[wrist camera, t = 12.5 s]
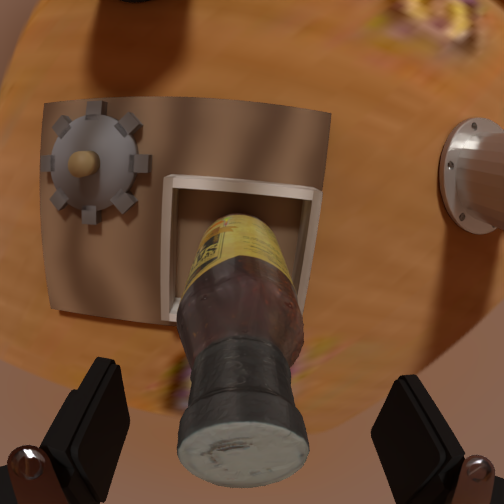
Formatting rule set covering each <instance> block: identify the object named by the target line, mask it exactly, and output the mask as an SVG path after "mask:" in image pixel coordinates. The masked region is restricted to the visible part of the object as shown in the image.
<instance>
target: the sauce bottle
mask: <svg viewBox="0 0 504 504" xmlns="http://www.w3.org/2000/svg"><path fill="white" fill-rule="evenodd" d="M176 323H177V329H178V333H179V336H180V339H181V342H182V345H183V348H184V350H185V353H186V356H187V359H188V362H189V364H190V367H191V370H192V371H191V377H190V379H191V382H192V384H191V390H190V395H189V401H188V408H187V409H186V410H185V412H184V414H183V416H182V417H181V420H180V426H179V431H178V444H177V455H178V458H179V460H180V462H181V463H182V465H183V466H184V467H185V468H186V469H187V470H188V471H190V472H191V473H192V474H193V475H195V476H197V477H199V478H201V479H203V480H205V481H208V482H210V483H213V484H215V485H218V486H224V487H230V488H231V487H232V488H252V487H258V486H265V485H268V484H271V483H275V482H279V481H281V480H283V479H286V478H288V477H290V476H291V475H292V474H294V473H295V472H297V471H298V470H299V469H300V468H302V466H303V465H304V463H305V461H306V459H307V456H308V454H309V451H310V450H309V442H308V438H307V432H306V428H305V424H304V421H303V417H302V415H301V413H300V412H299V410H298V409H297V408H296V407H295V403H294V397H293V394H292V389H291V371H290V367H291V366H292V365H293V364H294V362H295V361H296V359H297V358H298V357H299V353H300V351H301V348H302V346H303V343H304V332H303V326H304V324H303V317H302V314H301V311H300V308H299V305H298V298H297V294H296V290H295V288H294V285H293V282H292V279H291V277H290V274H289V271H288V268H287V266H286V263H285V260H284V257H283V255H282V252H281V249H280V247H279V244H278V241H277V239H276V236H275V234H274V233H273V232H272V230H271V229H270V228H269V226H268V225H267V224H266V223H265V222H263V221H262V220H260V219H259V218H257V217H255V216H253V215H251V214H247V213H240V212H238V213H237V212H236V213H231V214H228V215H225V216H223V217H221V218H218V219H217V220H216V221H215V222H214V223H213V224H212V225H211V226H210V227H209V228H208V229H207V230H206V232H205V233H204V235H203V237H202V239H201V242H200V245H199V247H198V250H197V253H196V256H195V258H194V261H193V264H192V267H191V269H190V272H189V276H188V279H187V281H186V285H185V288H184V291H183V294H182V296H181V300H180V303H179V307H178V310H177V317H176Z"/></svg>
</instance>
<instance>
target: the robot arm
mask: <svg viewBox="0 0 504 504" xmlns="http://www.w3.org/2000/svg"><path fill="white" fill-rule="evenodd" d="M439 181H440V190H441V195H442V199H443V202H444V205H445V207H446V210H447V212H448V213H449V215H450V217H451V218H452V220H453V221H454V222H455V223H456V224H457V225H458V226H459V227H461V228H462V229H464V230H466V231H468V232H471V233H473V234H479V235H480V234H487V233H489V232H492V231H494V230H495V229H497V228H499V229H502V230H504V130H503V129H502V128H501V127H500V126H499V125H498V124H496V123H495V122H493V121H492V120H489V119H486V118H470V119H467V120H465V121H462V122H461V123H460V124H458V125H457V126H456V127H455V128H454V129H453V131H452V132H451V133H450V134H449V136H448V138H447V140H446V142H445V145H444V148H443V151H442V154H441V160H440V169H439ZM129 425H130V417H129V412H128V407H127V402H126V397H125V392H124V386H123V381H122V375H121V369H120V366H119V365H116V363H115V361H114V360H112V359H107V358H102V357H97V358H96V359H95V361H94V362H93V364H92V366H91V367H90V369H89V371H88V373H87V374H86V376H85V378H84V379H83V381H82V383H81V384H80V386H79V388H78V390H75V389H74V390H72V391H71V392H70V393H69V395H68V396H67V398H66V400H65V402H64V403H63V405H62V407H61V409H60V410H59V412H58V414H57V416H56V417H55V419H54V421H53V423H52V425H51V427H50V428H49V430H48V432H47V434H46V436H45V437H44V439H43V441H42V443H41V445H40V447H39V448H38V447H36V446H32V445H24V446H20V447H17V448H16V449H14V450H13V451H12V452H11V453H10V455H9V456H8V460H7V465H5V466H1V467H0V504H100V502H103V503H104V502H105V501H106V498H107V495H108V492H109V488H110V484H111V482H112V478H113V475H114V472H115V469H116V466H117V462H118V459H119V456H120V453H121V450H122V447H123V444H124V441H125V438H126V435H127V432H128V429H129ZM371 438H372V440H373V443H374V445H375V448H376V450H377V453H378V456H379V459H380V461H381V464H382V467H383V469H384V472H385V475H386V477H387V480H388V483H389V486H390V488H391V491H392V494H393V497H394V499H395V502H396V504H504V479H503V478H500V477H497V476H495V469H494V466H493V464H492V463H491V461H490V460H489V459H487V458H486V457H484V456H481V455H471V456H469V457H467V458H466V459H465V458H464V454H465V452H464V450H463V449H462V447H461V446H460V444H459V442H458V440H457V438H456V437H455V435H454V433H453V432H452V430H451V428H450V427H449V425H448V424H447V422H446V420H445V419H444V417H443V415H442V414H441V412H440V411H439V409H438V407H437V406H436V404H435V403H434V401H433V400H432V398H431V396H430V395H429V394H428V392H427V390H426V389H425V388H424V386H423V384H422V383H421V381H420V380H419V378H418V377H417V376H416V375H414V374H413V375H402V376H400V377H399V378H398V380H395V381H394V383H393V385H392V388H391V390H390V392H389V394H388V396H387V398H386V401H385V403H384V405H383V407H382V409H381V411H380V413H379V415H378V417H377V419H376V421H375V423H374V425H373V427H372V429H371Z"/></svg>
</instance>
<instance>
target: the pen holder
mask: <svg viewBox="0 0 504 504" xmlns="http://www.w3.org/2000/svg"><path fill="white" fill-rule="evenodd" d="M121 1H124V2H144V1H149V0H121Z"/></svg>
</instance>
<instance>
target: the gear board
mask: <svg viewBox="0 0 504 504" xmlns="http://www.w3.org/2000/svg"><path fill="white" fill-rule="evenodd" d="M330 123H331V113H327V112H321V111H316V110H310V109H304V108H297V107H290V106H283V105H276V104H268V103H259V102H250V101H240V100H228V99H214V98H196V97H112V98H94V99H81V100H70V101H60V102H52V103H44V111H43V121H42V133H41V150H40V215H41V233H42V245H43V256H44V265H45V273H46V281H47V287H48V294H49V300H50V306H51V309H57V310H62V311H68V312H74V313H80V314H86V315H93V316H99V317H106V318H113V319H120V320H127V321H135V322H143V323H151V324H160V325H169V326H177V323H176V317H177V310H178V307H179V303H180V300H181V296H182V294H183V291H184V288H185V285H186V281H187V279H188V276H189V272H190V269H191V267H192V264H193V261H194V258H195V256H196V253H197V250H198V247H199V245H200V242H201V239H202V237H203V235H204V233H205V232H206V230H207V229H208V228H209V227H210V226H211V225H212V224H213V223H214V222H215V221H216V220H217V219H218V218H221V217H223V216H225V215H228V214H231V213H236V212H237V213H238V212H240V213H247V214H251V215H253V216H255V217H257V218H259V219H260V220H262V221H263V222H265V223H266V224H267V225H268V226H269V228H270V229H271V230H272V232H273V233H274V234H275V236H276V239H277V241H278V244H279V247H280V249H281V252H282V255H283V257H284V260H285V263H286V266H287V268H288V271H289V274H290V277H291V279H292V282H293V285H294V288H295V290H296V294H297V298H298V305H299V308H300V311H301V314H302V315H303V309H304V304H305V299H306V293H307V288H308V283H309V277H310V271H311V265H312V260H313V254H314V248H315V241H316V235H317V229H318V222H319V216H320V209H321V202H322V195H323V192H322V188H323V181H324V173H325V166H326V158H327V149H328V141H329V132H330Z"/></svg>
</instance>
